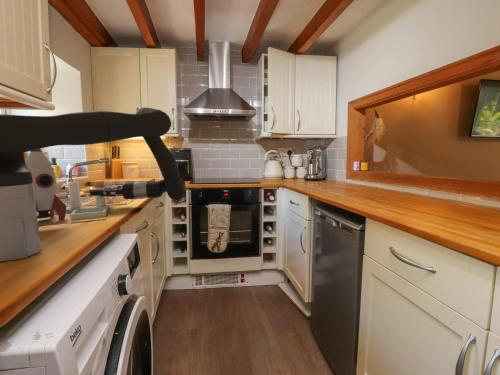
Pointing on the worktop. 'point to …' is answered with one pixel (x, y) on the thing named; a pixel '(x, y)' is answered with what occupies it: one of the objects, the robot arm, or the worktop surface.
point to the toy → (44, 186)
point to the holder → (68, 210)
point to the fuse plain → (74, 195)
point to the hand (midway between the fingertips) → (94, 191)
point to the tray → (89, 213)
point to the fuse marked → (99, 200)
